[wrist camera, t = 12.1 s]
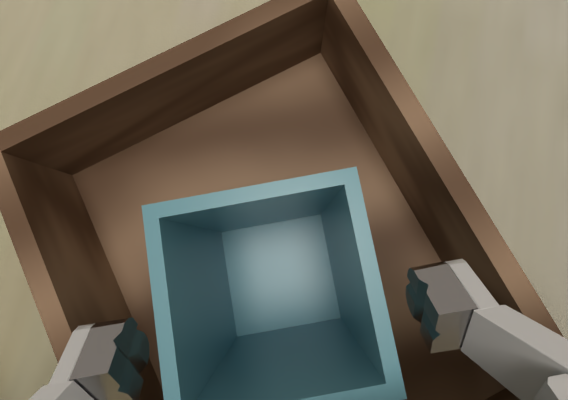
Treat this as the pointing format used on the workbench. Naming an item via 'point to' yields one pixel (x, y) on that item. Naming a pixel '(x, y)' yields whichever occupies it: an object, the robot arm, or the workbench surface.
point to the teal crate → (271, 294)
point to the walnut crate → (248, 175)
